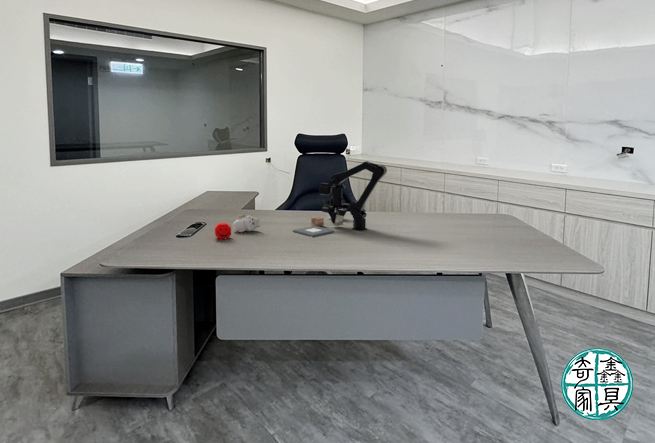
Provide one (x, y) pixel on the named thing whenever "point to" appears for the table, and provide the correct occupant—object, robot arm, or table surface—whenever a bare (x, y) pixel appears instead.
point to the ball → (222, 231)
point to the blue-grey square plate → (313, 231)
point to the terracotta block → (317, 221)
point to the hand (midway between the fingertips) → (336, 222)
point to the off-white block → (338, 220)
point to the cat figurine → (245, 223)
